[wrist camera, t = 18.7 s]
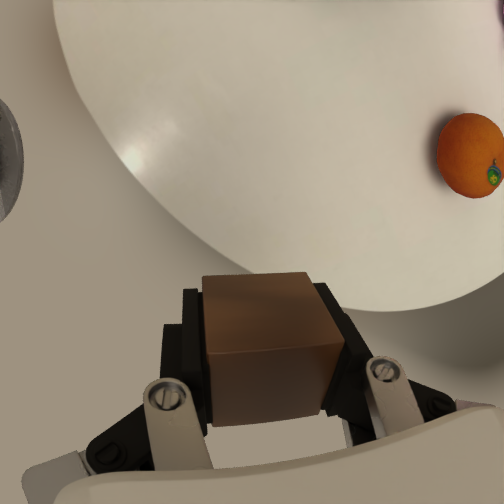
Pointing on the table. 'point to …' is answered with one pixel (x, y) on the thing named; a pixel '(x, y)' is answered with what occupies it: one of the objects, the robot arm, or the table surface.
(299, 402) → the block
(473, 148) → the fruit
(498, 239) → the table surface
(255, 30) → the table surface
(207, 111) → the table surface
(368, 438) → the robot arm
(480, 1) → the table surface
